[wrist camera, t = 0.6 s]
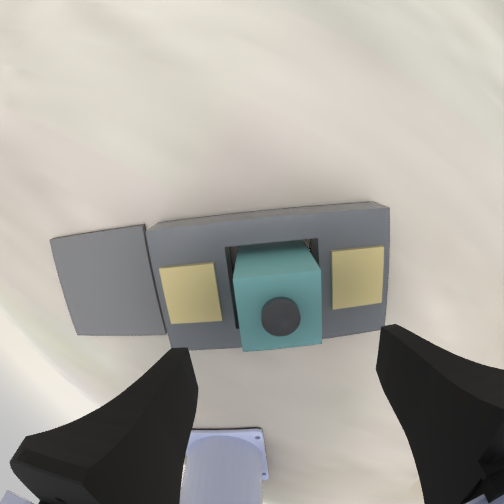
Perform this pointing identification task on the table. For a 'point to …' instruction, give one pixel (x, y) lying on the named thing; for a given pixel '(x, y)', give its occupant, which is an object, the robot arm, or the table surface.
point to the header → (265, 231)
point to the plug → (277, 296)
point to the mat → (109, 282)
